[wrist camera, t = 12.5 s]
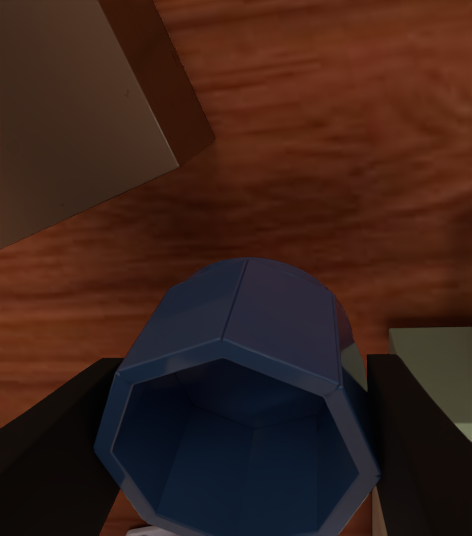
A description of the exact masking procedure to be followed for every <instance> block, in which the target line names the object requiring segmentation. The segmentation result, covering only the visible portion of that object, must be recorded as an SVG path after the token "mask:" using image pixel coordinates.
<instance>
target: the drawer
mask: <svg viewBox="0 0 472 536" xmlns="http://www.w3.org/2000/svg"><path fill="white" fill-rule="evenodd" d="M389 353H390V354H397V355H398V356H399V357H400V358H401V359H402V360H403V362H404V363H405V364H406V366H407V367H408V369H409V370H410V371H411V373H412V374H413V375H414V377H415V378H416V379H417V381H418V382H419V383H420V384H421V386H422V387H423V388H424V389H425V391H426V392H427V393H428V394H429V395H430V397H431V398H432V399H433V400H434V401H435V403H436V404H437V405H438V406H439V407H440V408H441V409H442V411H443V412H444V413H445V414H446V415H447V416H448V417H449V418H450V420H451V421H452V422H453V423H454V424H455V425H456V426H457V427H458V428H459V429H460V430H461V432H462V433H463V434H464V435H465V436H466V437H467V438H468V439H469V440H470V441H471V442H472V327H434V328H390V329H389Z"/></svg>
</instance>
